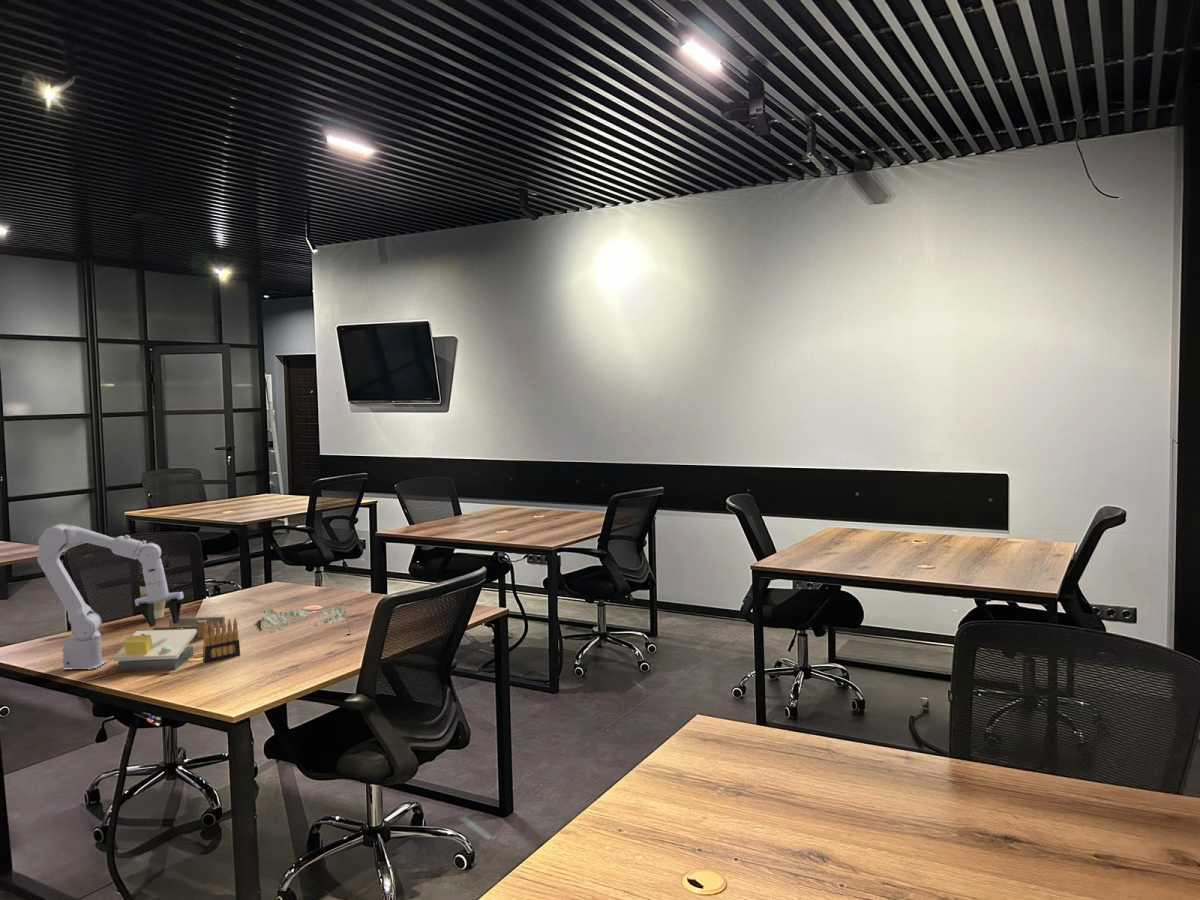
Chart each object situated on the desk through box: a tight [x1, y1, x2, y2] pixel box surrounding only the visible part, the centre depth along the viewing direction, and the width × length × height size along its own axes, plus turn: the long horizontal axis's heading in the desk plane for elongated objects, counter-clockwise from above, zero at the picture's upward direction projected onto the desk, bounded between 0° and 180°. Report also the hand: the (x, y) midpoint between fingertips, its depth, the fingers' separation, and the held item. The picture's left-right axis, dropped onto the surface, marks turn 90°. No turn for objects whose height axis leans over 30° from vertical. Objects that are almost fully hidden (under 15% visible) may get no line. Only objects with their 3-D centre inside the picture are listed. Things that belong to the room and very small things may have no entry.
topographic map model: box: [260, 602, 348, 633], centre depth 295 cm, size 36×29×5 cm
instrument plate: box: [112, 629, 197, 662], centre depth 251 cm, size 18×16×5 cm
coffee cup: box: [137, 577, 169, 620], centre depth 310 cm, size 10×10×15 cm
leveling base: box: [117, 646, 194, 672], centre depth 252 cm, size 16×14×5 cm
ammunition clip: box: [202, 617, 241, 664], centre depth 257 cm, size 11×2×12 cm, turn 136°
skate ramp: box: [152, 613, 226, 639], centre depth 283 cm, size 29×35×8 cm
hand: (164, 624), depth 257 cm, fingers open, 7 cm apart
